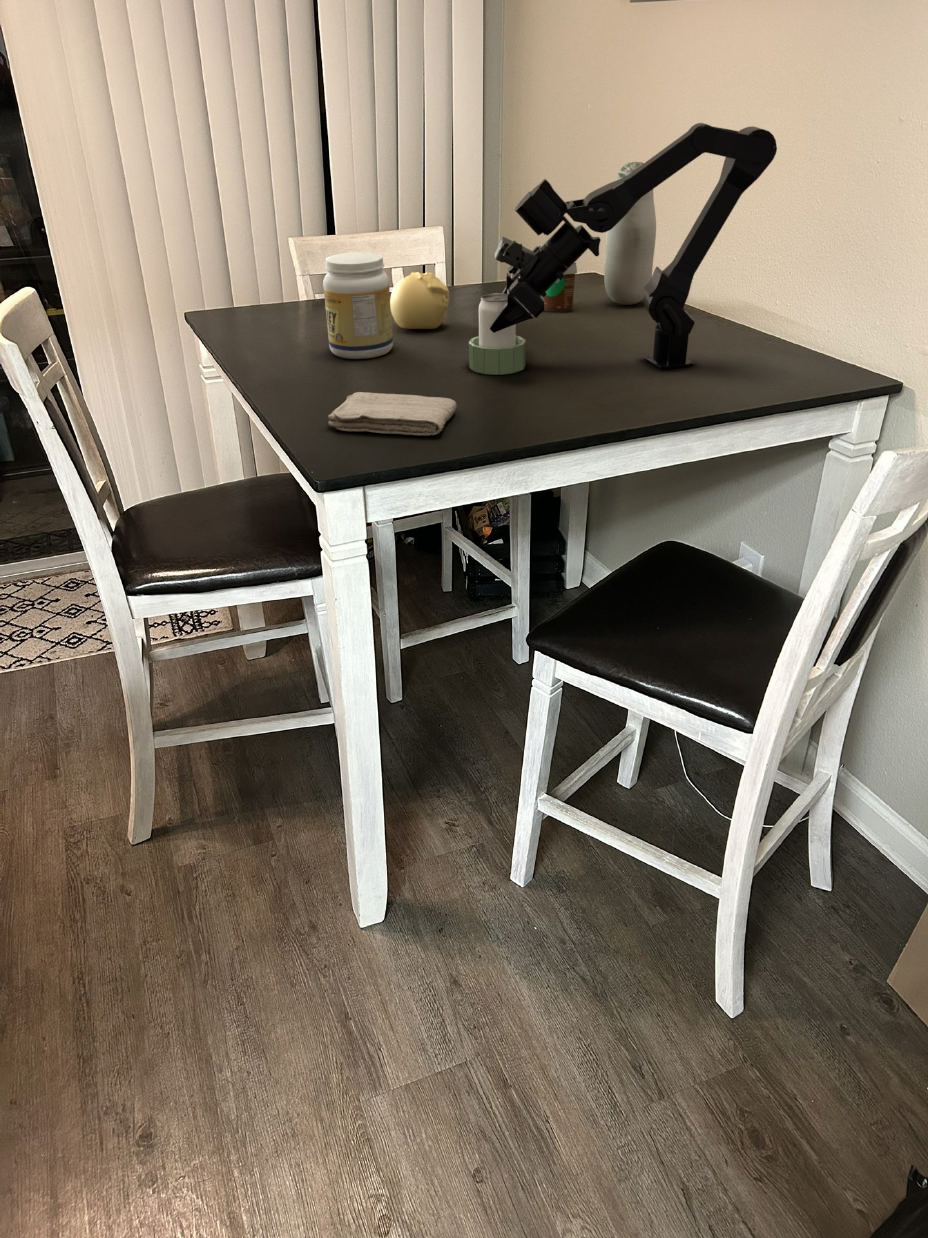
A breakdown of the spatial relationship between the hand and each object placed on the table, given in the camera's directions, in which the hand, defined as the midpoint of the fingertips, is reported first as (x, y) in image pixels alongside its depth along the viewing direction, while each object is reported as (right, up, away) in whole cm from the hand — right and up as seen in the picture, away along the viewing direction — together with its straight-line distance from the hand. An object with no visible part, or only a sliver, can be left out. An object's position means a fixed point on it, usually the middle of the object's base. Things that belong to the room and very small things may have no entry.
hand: (491, 323), depth 160 cm
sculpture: (-14, +8, +28) cm, 32 cm away
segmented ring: (+1, -6, +4) cm, 8 cm away
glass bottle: (+31, +17, +41) cm, 54 cm away
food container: (+14, +16, +39) cm, 45 cm away
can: (+1, -6, +4) cm, 8 cm away
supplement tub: (-24, -1, +14) cm, 28 cm away
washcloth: (-16, -21, -19) cm, 33 cm away
